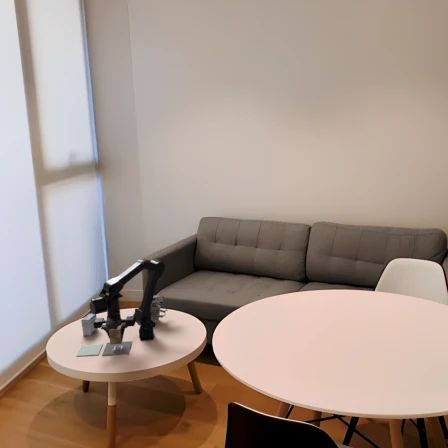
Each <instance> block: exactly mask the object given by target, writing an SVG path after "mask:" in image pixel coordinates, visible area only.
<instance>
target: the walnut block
mask: <svg viewBox="0 0 448 448" xmlns="http://www.w3.org/2000/svg"><path fill="white" fill-rule="evenodd" d="M121 326H122V325H121ZM121 326H118V328H117V329H110V330H109V335H110V338H109V343H110V344H121V343H122V342H123V339H124V338H123V339H122V338H121Z"/></svg>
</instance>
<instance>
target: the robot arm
mask: <svg viewBox="0 0 448 448" xmlns="http://www.w3.org/2000/svg"><path fill="white" fill-rule="evenodd" d="M144 270H147V275H148V279H147V281H146V285H145V289H144V293H143V296H142V300H141V304H140V306H139V307H138V308H137V307H136V308H134V313H133V315H129V316H126V318H122V316H121V307H120V298H123V297H124V295H123V294H122V293H120V292H121V291H122V290H123V288H125V287H124V286H125V285H126V284H127V283H129V282H131V280H132V279H134V278H135V277H136V276H137V275H139V274H140V273H141V272H142V271H144ZM165 271H166V265H165V263H164V262H162V261H160V260H157V259H151V260H148V259H137V261H136V262H135V263H134V264H132V265H131V266H130V267H128V268H127V269H125V270H124V271H123V272H122V273H120V274H119V275H118V276H116V277H115V276H114V277H112V278H110V279H109V280H106V281H105V282H104V283H103V286H102V289H101V291H100V293H99V295H98V297H97V298H93V299H91V300H90V303H89V306H88V307H89V310H90V314H93V315H94V314H96V315H97V314H100V313H104V312H106V311H107V313H106V314H107V315H106V319H105V318H104V317H96V319H95V321H94V323H93V326H94V328H98V329H100V330H104V331H105V333H106V335H107V336H108V339H110V335H109V330H110V329H117V328H118V326H121V325H122V326H121V338H122V339H124V334H125V331H126V329H128V328H129V327H134V326H135V325H136V324H137V325H138V326H139V329H138V335H139V336H138V337H139V341H142V342H143V341H154V339H155V336H156V335H155V331H154V328H155V327H156V326H157V325H156V321H155V322H153V321H152V320H151V305H152V301H153V297H154V296H155V292H156V289H157V286H158V282H159V280H160V279H161V277H162V276H163V275H164V272H165Z"/></svg>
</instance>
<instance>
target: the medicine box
mask: <svg viewBox="0 0 448 448" xmlns="http://www.w3.org/2000/svg"><path fill="white" fill-rule="evenodd" d="M96 318H97V314H94V315H93V314H92V313H87V314H86V316H84V317H83V318H82V319H81V328H82V335H83V336H92V335H94V334H95V332H96V331H97V330H98V329H99V328H94V326H93V323H94V321H95V319H96Z"/></svg>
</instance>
